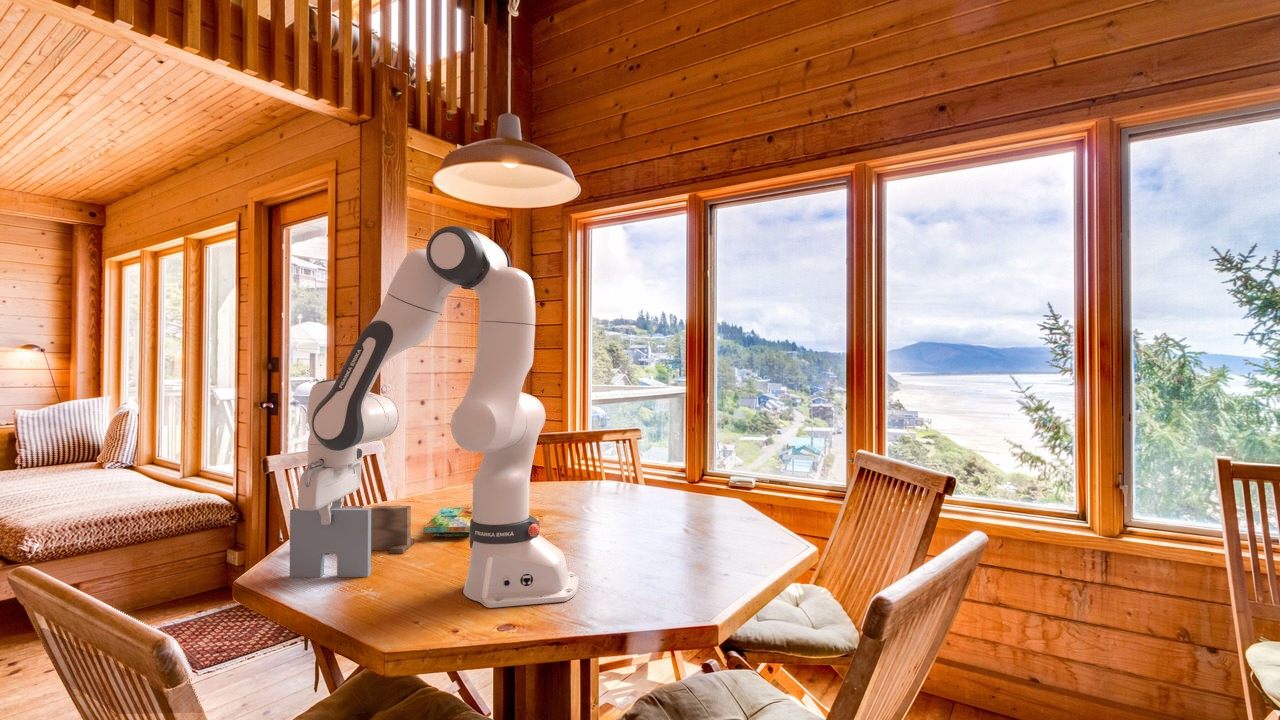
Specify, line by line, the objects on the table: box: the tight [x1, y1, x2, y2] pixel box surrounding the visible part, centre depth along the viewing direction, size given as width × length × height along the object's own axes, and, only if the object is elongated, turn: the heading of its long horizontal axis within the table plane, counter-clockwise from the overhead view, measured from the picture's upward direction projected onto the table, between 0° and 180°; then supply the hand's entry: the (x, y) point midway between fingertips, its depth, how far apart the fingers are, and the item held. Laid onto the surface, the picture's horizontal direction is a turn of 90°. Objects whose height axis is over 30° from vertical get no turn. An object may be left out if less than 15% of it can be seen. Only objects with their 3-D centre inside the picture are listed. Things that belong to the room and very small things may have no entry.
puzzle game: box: [423, 506, 473, 537], centre depth 160 cm, size 12×5×20 cm
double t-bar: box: [324, 505, 415, 555], centre depth 143 cm, size 20×8×10 cm, turn 92°
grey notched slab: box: [289, 507, 372, 579], centre depth 125 cm, size 16×2×14 cm, turn 92°
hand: (331, 521), depth 125 cm, fingers open, 2 cm apart
